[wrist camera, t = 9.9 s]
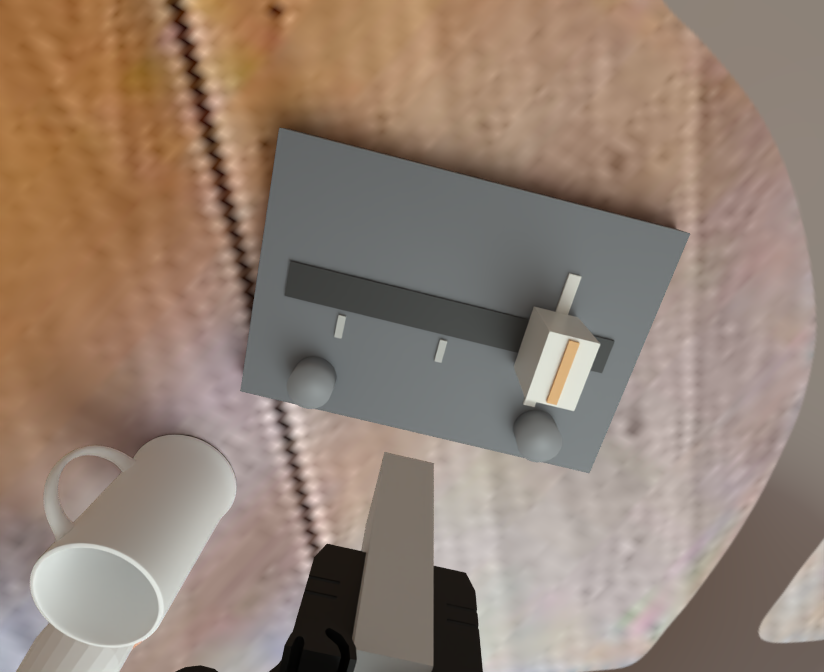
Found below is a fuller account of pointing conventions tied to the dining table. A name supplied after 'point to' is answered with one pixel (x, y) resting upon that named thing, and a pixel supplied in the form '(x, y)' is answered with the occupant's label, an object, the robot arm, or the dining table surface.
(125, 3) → the dining table surface
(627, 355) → the console board
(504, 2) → the dining table surface
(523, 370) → the fader tab
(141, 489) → the mug
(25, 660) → the pepper shaker
